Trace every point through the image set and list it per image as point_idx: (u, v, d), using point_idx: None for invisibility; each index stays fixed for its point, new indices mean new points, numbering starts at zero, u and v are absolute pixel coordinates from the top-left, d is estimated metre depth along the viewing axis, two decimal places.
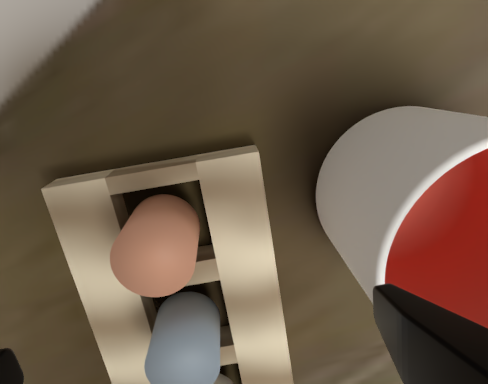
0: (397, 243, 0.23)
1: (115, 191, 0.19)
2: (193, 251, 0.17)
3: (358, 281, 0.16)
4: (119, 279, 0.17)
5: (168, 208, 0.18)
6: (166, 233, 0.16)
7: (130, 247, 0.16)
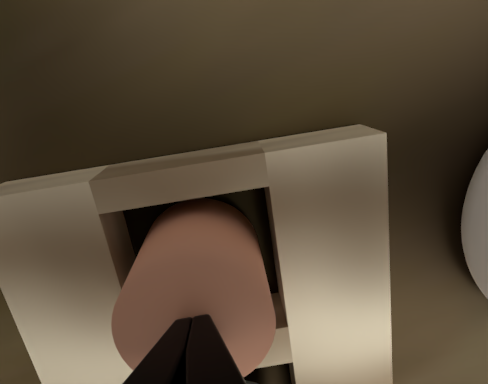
0: None
1: (110, 207, 0.10)
2: (273, 310, 0.09)
3: None
4: (129, 361, 0.09)
5: (218, 224, 0.10)
6: (223, 277, 0.08)
7: (151, 304, 0.08)
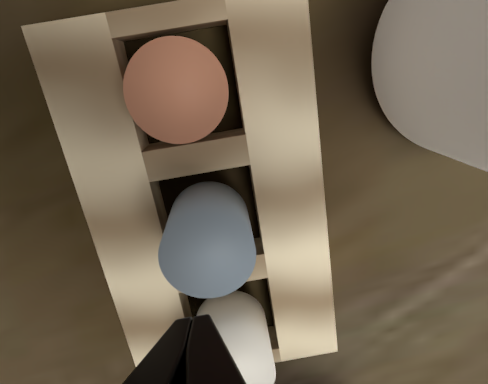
0: None
1: (119, 33, 0.15)
2: (226, 80, 0.14)
3: (454, 118, 0.12)
4: (134, 117, 0.14)
5: None
6: (193, 53, 0.13)
7: (148, 71, 0.13)
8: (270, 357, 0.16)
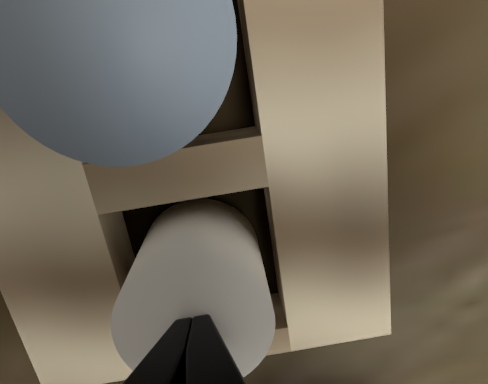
0: None
1: None
2: None
3: None
4: None
5: None
6: None
7: None
8: (264, 290, 0.09)
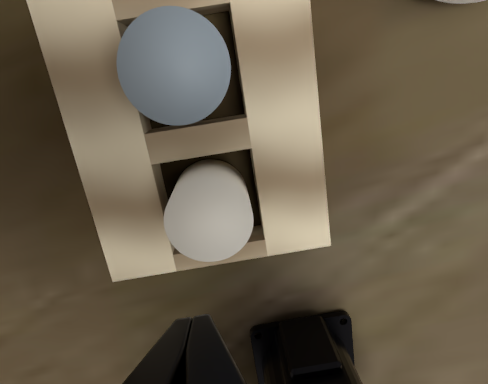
0: None
1: None
2: None
3: None
4: None
5: None
6: None
7: None
8: (247, 200, 0.16)
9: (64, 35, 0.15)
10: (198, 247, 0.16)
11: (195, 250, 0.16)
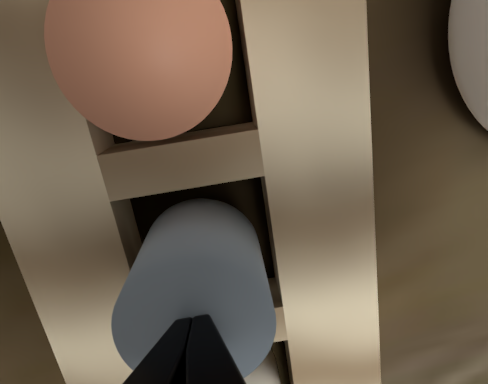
0: None
1: None
2: (228, 29, 0.08)
3: None
4: (67, 93, 0.08)
5: None
6: None
7: (88, 10, 0.07)
8: None
9: (38, 221, 0.11)
10: None
11: None
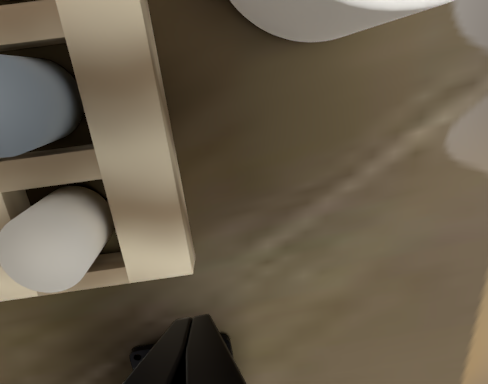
0: None
1: None
2: None
3: None
4: None
5: None
6: None
7: None
8: (80, 234, 0.16)
9: None
10: (35, 278, 0.16)
11: (33, 281, 0.16)
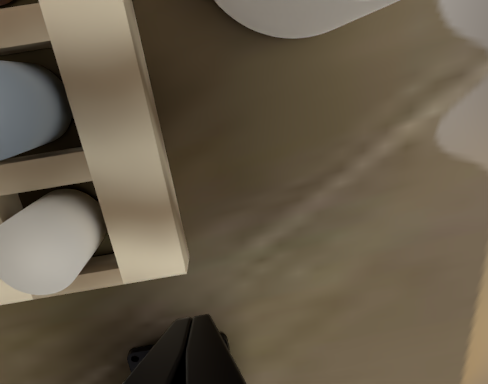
0: None
1: None
2: None
3: None
4: None
5: None
6: None
7: None
8: (71, 235, 0.16)
9: None
10: (28, 281, 0.16)
11: (25, 284, 0.16)
